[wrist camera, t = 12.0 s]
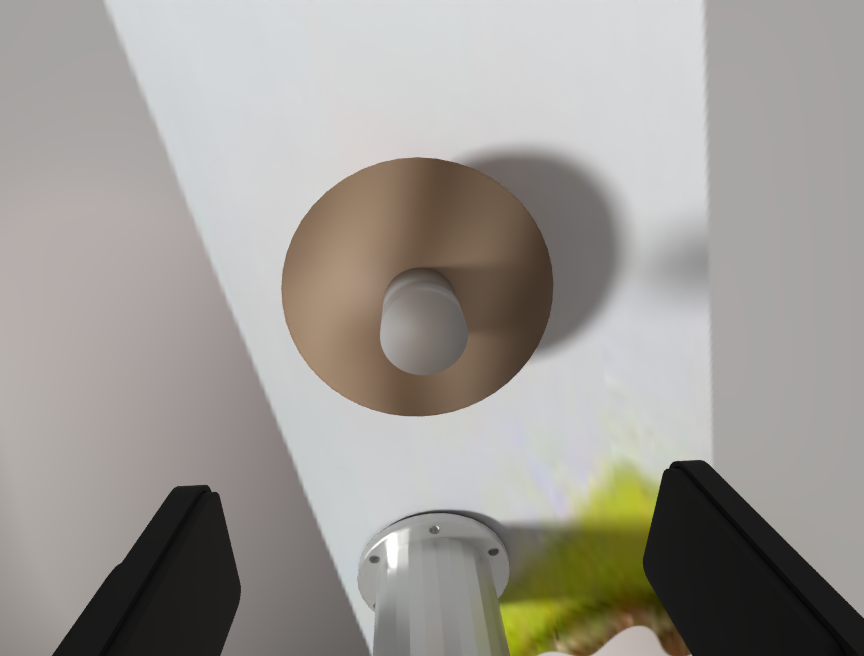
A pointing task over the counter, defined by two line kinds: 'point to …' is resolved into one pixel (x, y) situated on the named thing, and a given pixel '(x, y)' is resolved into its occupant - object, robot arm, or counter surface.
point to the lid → (417, 287)
